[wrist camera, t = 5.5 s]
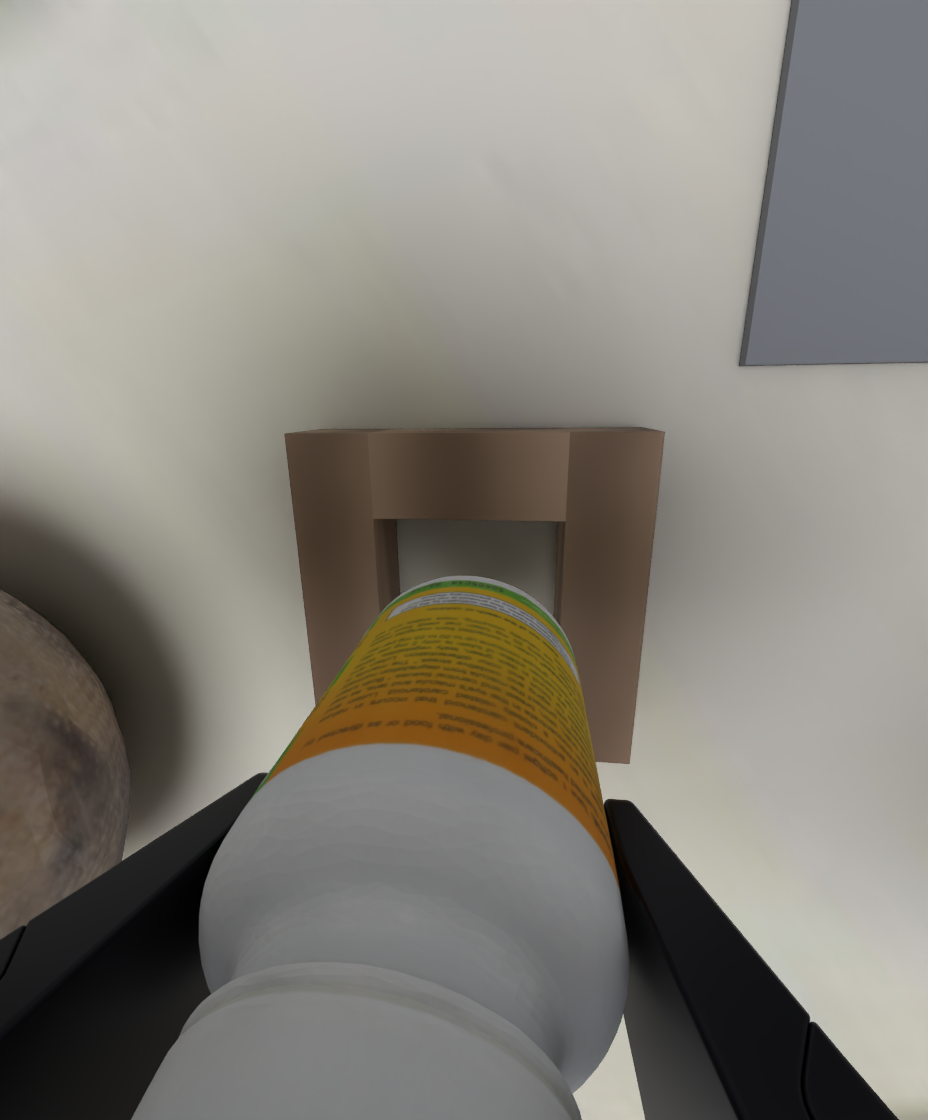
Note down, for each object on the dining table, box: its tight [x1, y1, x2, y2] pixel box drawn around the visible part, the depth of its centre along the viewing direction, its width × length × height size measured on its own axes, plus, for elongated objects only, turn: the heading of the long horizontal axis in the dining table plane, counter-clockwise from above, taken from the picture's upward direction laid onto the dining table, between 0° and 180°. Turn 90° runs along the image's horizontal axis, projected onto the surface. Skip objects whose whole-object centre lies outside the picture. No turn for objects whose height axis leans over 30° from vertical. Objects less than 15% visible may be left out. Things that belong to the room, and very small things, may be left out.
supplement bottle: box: [131, 576, 629, 1120], centre depth 8 cm, size 5×5×10 cm
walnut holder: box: [285, 427, 665, 764], centre depth 19 cm, size 12×12×3 cm
